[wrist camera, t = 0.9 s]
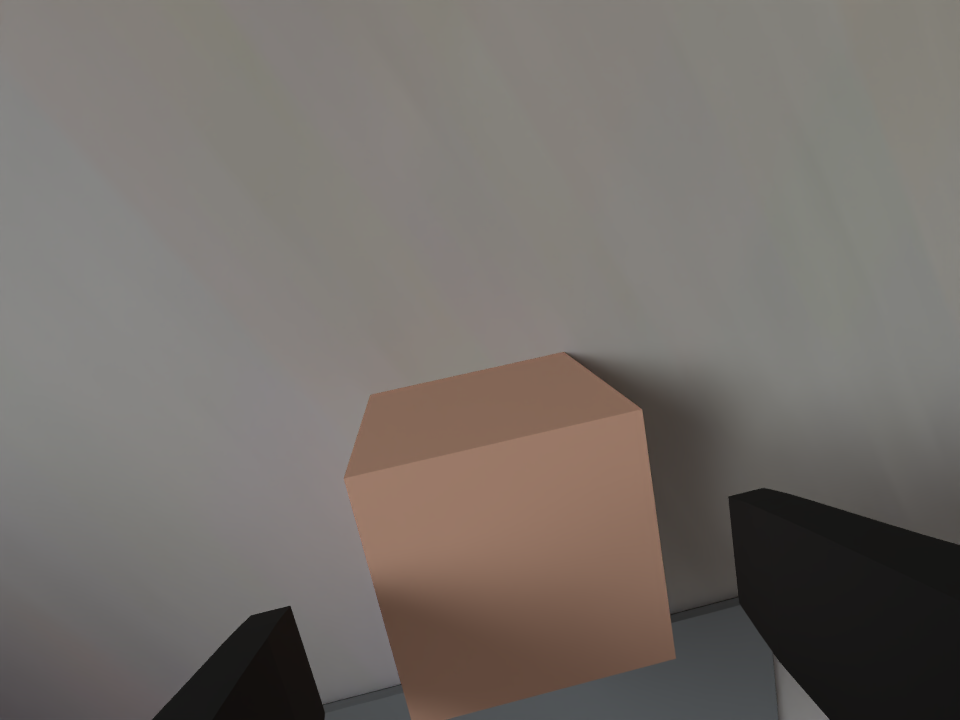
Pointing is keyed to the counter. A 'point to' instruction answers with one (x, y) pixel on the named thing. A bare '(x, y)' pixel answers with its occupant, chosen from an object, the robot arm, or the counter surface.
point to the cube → (510, 534)
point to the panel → (640, 682)
